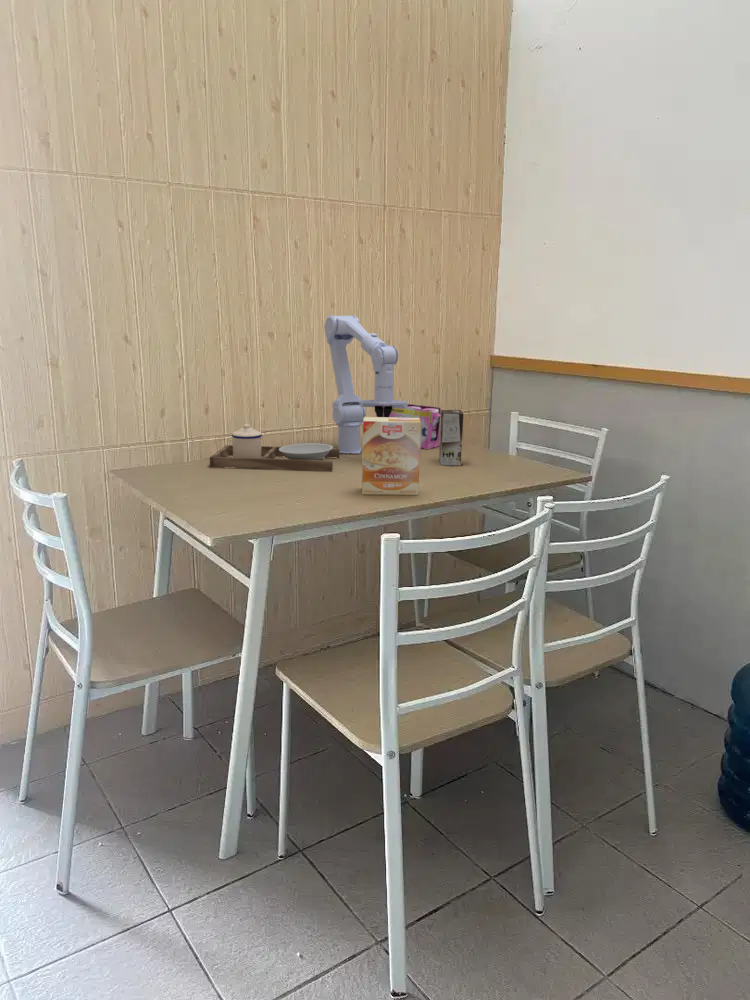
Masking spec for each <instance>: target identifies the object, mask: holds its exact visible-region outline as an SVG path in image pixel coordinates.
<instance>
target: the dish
mask: <svg viewBox="0 0 750 1000" xmlns="http://www.w3.org/2000/svg"><path fill="white" fill-rule="evenodd" d="M280 447H281V448H279V451H280V452H282V453H283V454H284V455H285V456H286V457H285V458H287V459H297V460H323V459H324V458H323V457H325V456H326V455H327V454H328V453H329V451H330V450H332V449H333V448H334V445H330V444H326V443H317V442H316V443H314V442H311V443H310V442H306V443H292V444H287V445H283V446H280Z"/></svg>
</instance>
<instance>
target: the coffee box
mask: <svg viewBox="0 0 750 1000" xmlns="http://www.w3.org/2000/svg"><path fill="white" fill-rule="evenodd" d="M463 426H464V413H463V411H462V410H461V409H441V415H440V439H439V453H438V454H439V457H438V459H439V463H440V465H441V466H457V465H460V466H461V464H462V463H461V462H462V449H463V445H462V444H463V433H464V432H463V431H464V427H463Z"/></svg>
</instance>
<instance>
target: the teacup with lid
mask: <svg viewBox="0 0 750 1000" xmlns="http://www.w3.org/2000/svg"><path fill="white" fill-rule="evenodd" d="M262 436H263V434H262V432H261V431H259V430H257V429H254V428H253V427H251V425H250V424H249V423H248V424H247V423H246V424H243V427H241V428H239V429H238V430H235V431H232V433H231V437H232V440H231V441H232V444H231V445H233V455H232V457H234V458H262V457H263V456H262V446H263V445H262Z"/></svg>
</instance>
